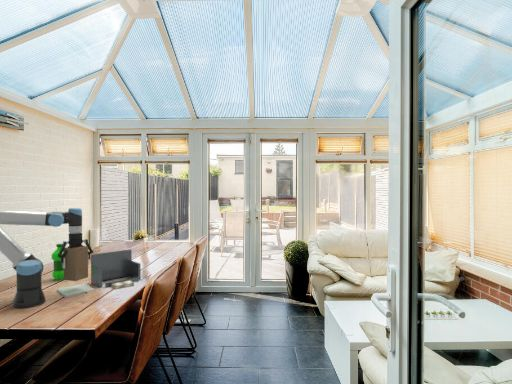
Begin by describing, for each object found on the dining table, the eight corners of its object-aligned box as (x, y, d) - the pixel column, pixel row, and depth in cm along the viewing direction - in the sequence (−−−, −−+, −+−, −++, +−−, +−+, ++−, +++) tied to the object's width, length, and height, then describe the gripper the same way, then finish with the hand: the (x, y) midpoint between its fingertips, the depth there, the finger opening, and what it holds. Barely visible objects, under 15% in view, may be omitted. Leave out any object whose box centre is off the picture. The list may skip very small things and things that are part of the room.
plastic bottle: (61, 281, 235) (60, 245, 235) (48, 280, 237) (47, 245, 237) (71, 277, 245) (71, 243, 245) (59, 276, 247) (58, 242, 247)
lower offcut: (115, 291, 212) (115, 288, 212) (111, 289, 217) (111, 286, 217) (133, 287, 220) (133, 285, 220) (129, 285, 225) (129, 283, 225)
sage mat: (65, 297, 199) (65, 295, 199) (56, 290, 212) (56, 289, 212) (95, 291, 211) (95, 289, 211) (85, 285, 224) (85, 283, 224)
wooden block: (88, 277, 215) (88, 246, 215) (75, 281, 205) (75, 248, 205) (76, 276, 218) (76, 245, 218) (63, 280, 209) (62, 247, 208)
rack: (101, 289, 214) (101, 258, 214) (91, 284, 228) (90, 254, 227) (142, 281, 233) (142, 252, 233) (130, 276, 247) (130, 249, 247)
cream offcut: (114, 288, 212) (114, 286, 212) (111, 286, 218) (111, 283, 218) (133, 285, 220) (133, 282, 220) (129, 283, 225) (129, 280, 225)
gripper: (54, 235, 200) (55, 270, 200) (98, 231, 217) (98, 264, 218) (51, 234, 206) (51, 268, 206) (94, 230, 223) (94, 262, 223)
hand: (75, 266), depth 212 cm, fingers closed on wooden block, 13 cm apart
